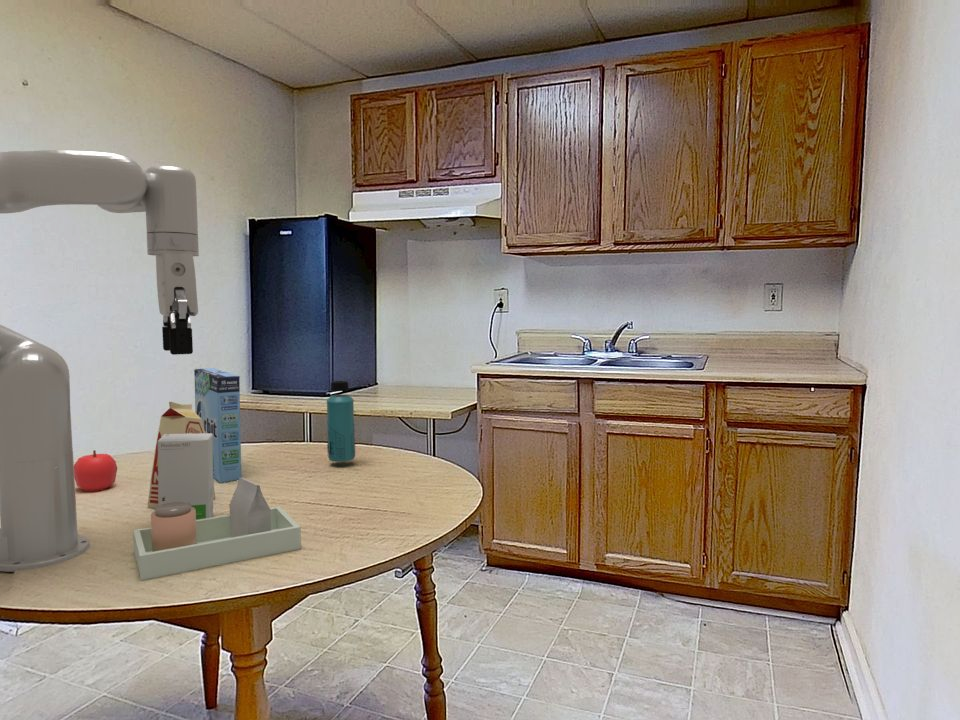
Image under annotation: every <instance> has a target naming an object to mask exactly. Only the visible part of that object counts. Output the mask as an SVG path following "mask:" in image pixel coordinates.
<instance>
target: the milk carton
mask: <svg viewBox="0 0 960 720" xmlns="http://www.w3.org/2000/svg"><path fill="white" fill-rule="evenodd" d="M168 404H169V409H167V410H166V411H165V412H164V413H163V414H162V415H161V416H160V421H159V424H158V426H159V427H158V431H157V432H158V433H157V437H156V443H155V449H154V455H153V463H152V470H151V476H150V484H149V490H148V491H149V492H148V501H147V508H150V509H155V508H156V507H158V440H159V439H160V438H161V437H162V436H163V435H164V434H188V433H192V434H202V433H205V430H204V426H203V421H202V419H201V418H200V417H199V416H198V415H197V414H196V413H195V410H193V404H189V403H187V404H181V403H177V402H174V401H168ZM214 499H216V494H215V485H214V481H213V500H214Z"/></svg>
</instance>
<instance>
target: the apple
mask: <svg viewBox="0 0 960 720" xmlns="http://www.w3.org/2000/svg"><path fill="white" fill-rule="evenodd" d="M117 472H118V465H117V462H116V460H115V459H114V458H113V457H112V455H110V454H108V453H97V452H96V450H94V449H93V454H88V455H83V456H81V457H79V458H78V459H77V460H76V462H74V478H75V485H76V487H78V488H79V489H82V490H83V491H85V490H86V491H85V492H97V491H98V490H99V491H102V489H103V490H106V489H108V488H110V487H111V486H112V485H114V483H115V482H116V477H117ZM107 487H108V488H107ZM105 488H106V489H105Z"/></svg>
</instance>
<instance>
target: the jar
mask: <svg viewBox="0 0 960 720" xmlns="http://www.w3.org/2000/svg"><path fill="white" fill-rule="evenodd" d="M150 527H151V534H152V552H155V551H160V550H166V549H171V548H177V547H182V546H188V545H194V544H197V534H196V509H195V508H194V507H191V504H190V503H187V502H172V503H166V504H163V505H160V506H158V507H156V508H154V511H152V512H151V513H150Z"/></svg>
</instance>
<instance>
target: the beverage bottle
mask: <svg viewBox="0 0 960 720" xmlns="http://www.w3.org/2000/svg"><path fill="white" fill-rule="evenodd" d="M349 390H350V387H349V382H348V380H334V381H331V382H330V391H331V392H346V391H349ZM326 413H327V416H326V418H327V419H326V424H327V440H326V442H327V443H326V445H327V447H326V448H327V457H328V460H329V461H331V462H335V463H336V462H337V463H338V462H350V461H353V460H355V458H356V457H355V456H356V434H355V433H356V432H355V415H354V413H355V411H354V398H353V397H352V396H351V395H349V394H333V395H330V396H329V397H328V399H327V400H326Z"/></svg>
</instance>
